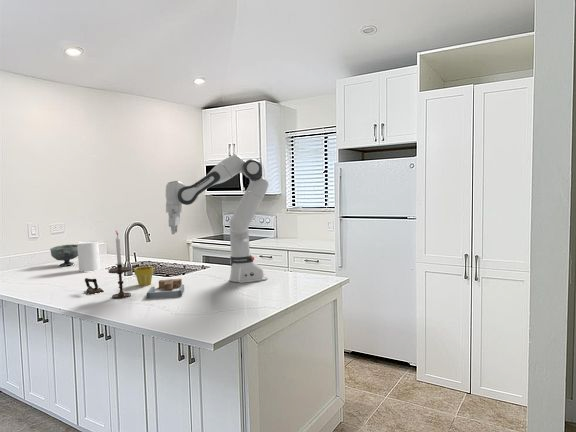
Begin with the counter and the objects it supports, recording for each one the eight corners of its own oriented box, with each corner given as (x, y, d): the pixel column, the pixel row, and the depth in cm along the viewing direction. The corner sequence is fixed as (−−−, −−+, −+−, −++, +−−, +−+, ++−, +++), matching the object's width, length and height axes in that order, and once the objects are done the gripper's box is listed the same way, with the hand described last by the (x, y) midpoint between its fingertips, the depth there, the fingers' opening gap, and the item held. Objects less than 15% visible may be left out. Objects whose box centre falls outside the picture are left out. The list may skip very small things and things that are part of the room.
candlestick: (106, 299, 211) (101, 231, 208) (117, 293, 221) (113, 228, 219) (125, 299, 209) (121, 230, 207) (136, 293, 220) (132, 228, 217)
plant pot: (148, 286, 235) (147, 269, 234) (131, 286, 237) (130, 269, 236) (157, 282, 245) (156, 266, 244) (141, 282, 247) (140, 266, 246)
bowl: (46, 268, 308) (44, 248, 307) (64, 263, 327) (62, 244, 326) (69, 268, 305) (68, 247, 304) (86, 263, 324) (85, 244, 323)
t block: (181, 285, 235) (181, 278, 235) (179, 290, 223) (179, 283, 223) (160, 287, 234) (159, 280, 233) (156, 292, 222) (156, 284, 221)
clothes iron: (92, 295, 221) (87, 278, 221) (82, 298, 228) (77, 280, 227) (104, 291, 227) (99, 274, 226) (94, 294, 233) (89, 277, 233)
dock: (184, 290, 224) (184, 284, 224) (181, 296, 210) (181, 290, 210) (151, 292, 222) (151, 286, 222) (146, 299, 208) (146, 293, 208)
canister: (94, 271, 286) (92, 243, 285) (75, 272, 287) (73, 244, 285) (103, 268, 300) (101, 240, 298) (85, 268, 300) (83, 241, 299)
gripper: (177, 210, 228) (177, 235, 229) (181, 208, 248) (182, 231, 249) (165, 210, 227) (166, 235, 228) (170, 208, 247) (171, 231, 248)
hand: (174, 233), depth 238 cm, fingers open, 8 cm apart
